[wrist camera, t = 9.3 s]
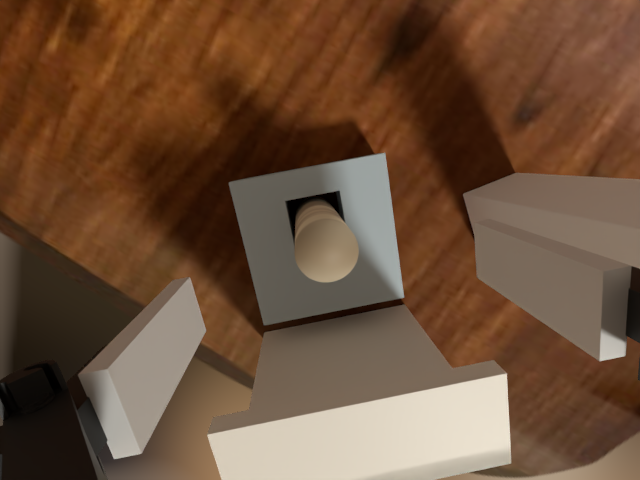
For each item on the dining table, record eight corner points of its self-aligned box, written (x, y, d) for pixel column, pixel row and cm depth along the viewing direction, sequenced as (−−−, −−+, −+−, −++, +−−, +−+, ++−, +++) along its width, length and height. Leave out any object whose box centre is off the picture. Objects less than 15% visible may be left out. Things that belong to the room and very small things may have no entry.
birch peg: (292, 200, 34) (288, 227, 20) (330, 193, 34) (353, 214, 20) (299, 238, 34) (301, 288, 21) (337, 230, 35) (363, 275, 21)
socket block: (236, 180, 33) (228, 182, 29) (374, 153, 33) (385, 152, 29) (267, 307, 36) (263, 325, 32) (392, 283, 36) (403, 297, 32)
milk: (461, 193, 35) (724, 243, 13) (516, 172, 34) (873, 186, 13) (476, 245, 36) (735, 367, 15) (529, 225, 36) (870, 317, 14)
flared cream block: (254, 292, 36) (207, 434, 17) (399, 264, 36) (506, 373, 17) (266, 341, 37) (235, 521, 19) (405, 314, 37) (511, 463, 19)
